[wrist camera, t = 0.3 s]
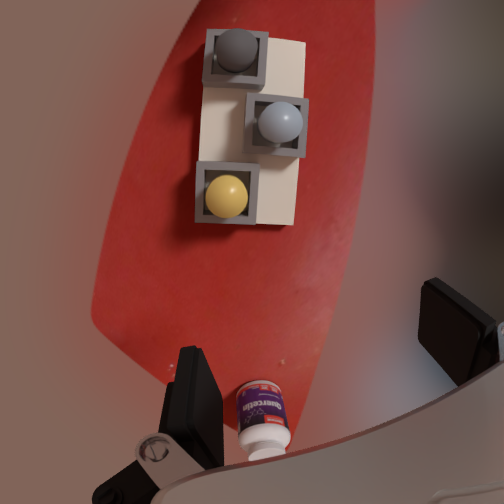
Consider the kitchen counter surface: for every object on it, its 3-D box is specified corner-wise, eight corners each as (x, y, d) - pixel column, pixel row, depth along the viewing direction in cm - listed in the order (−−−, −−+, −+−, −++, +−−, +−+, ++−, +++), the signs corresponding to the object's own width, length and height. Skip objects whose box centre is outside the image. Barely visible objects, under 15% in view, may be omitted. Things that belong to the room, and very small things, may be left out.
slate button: (258, 105, 30) (262, 99, 26) (295, 109, 30) (304, 104, 27) (255, 141, 31) (259, 140, 27) (292, 144, 32) (301, 144, 28)
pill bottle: (281, 375, 48) (297, 440, 34) (279, 404, 50) (292, 465, 37) (234, 378, 47) (238, 446, 34) (236, 408, 50) (241, 470, 36)
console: (209, 39, 30) (207, 25, 25) (301, 47, 31) (311, 34, 27) (198, 217, 38) (194, 227, 33) (289, 221, 39) (298, 231, 34)
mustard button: (208, 173, 32) (206, 175, 28) (246, 174, 32) (249, 177, 29) (207, 210, 33) (204, 217, 30) (244, 211, 34) (246, 218, 30)
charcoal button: (218, 40, 27) (217, 27, 23) (255, 42, 27) (259, 30, 23) (215, 72, 28) (213, 62, 24) (253, 74, 29) (256, 64, 25)
